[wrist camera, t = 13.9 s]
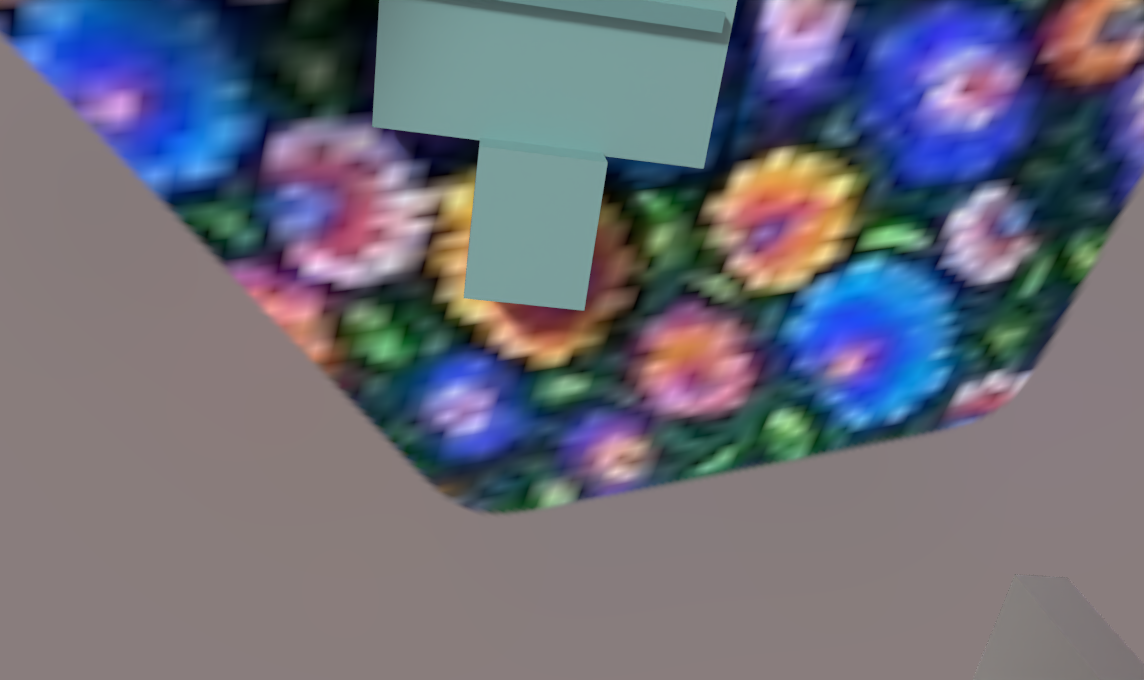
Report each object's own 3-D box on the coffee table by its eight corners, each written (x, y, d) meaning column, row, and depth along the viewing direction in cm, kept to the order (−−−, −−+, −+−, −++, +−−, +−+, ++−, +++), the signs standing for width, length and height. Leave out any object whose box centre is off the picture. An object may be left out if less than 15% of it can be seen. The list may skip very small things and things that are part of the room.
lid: (408, -387, 25) (396, -430, 22) (784, -313, 27) (819, -345, 24) (370, 255, 33) (358, 286, 30) (667, 288, 34) (683, 321, 31)
